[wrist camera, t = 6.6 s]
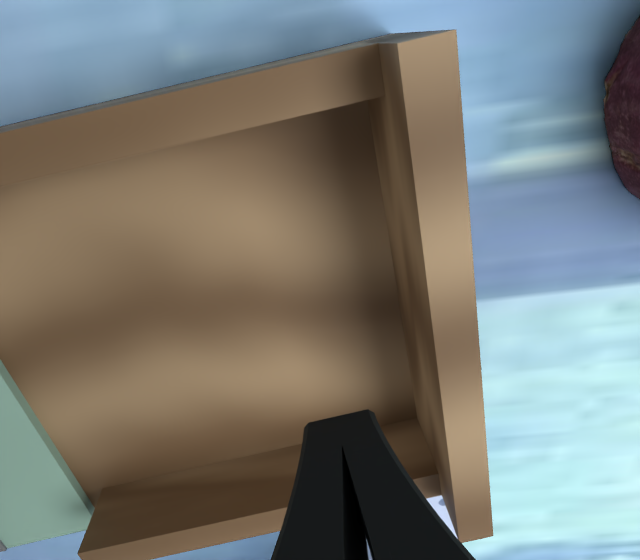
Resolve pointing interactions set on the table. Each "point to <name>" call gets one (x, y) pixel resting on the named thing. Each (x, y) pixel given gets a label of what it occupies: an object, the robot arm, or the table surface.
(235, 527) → the cart bed
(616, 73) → the vegetable
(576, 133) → the table surface
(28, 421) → the green board
